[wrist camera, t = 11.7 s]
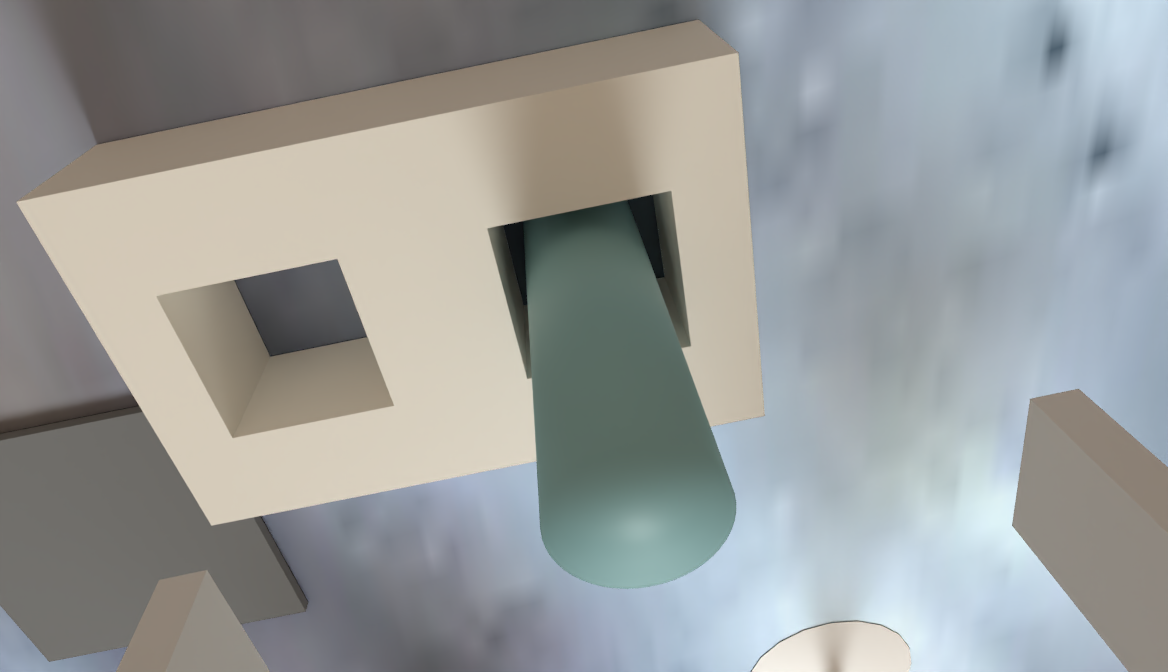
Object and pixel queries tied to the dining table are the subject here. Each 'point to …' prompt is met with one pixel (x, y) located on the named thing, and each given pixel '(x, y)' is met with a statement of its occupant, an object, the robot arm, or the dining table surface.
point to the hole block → (402, 260)
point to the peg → (616, 410)
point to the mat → (116, 536)
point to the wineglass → (839, 650)
